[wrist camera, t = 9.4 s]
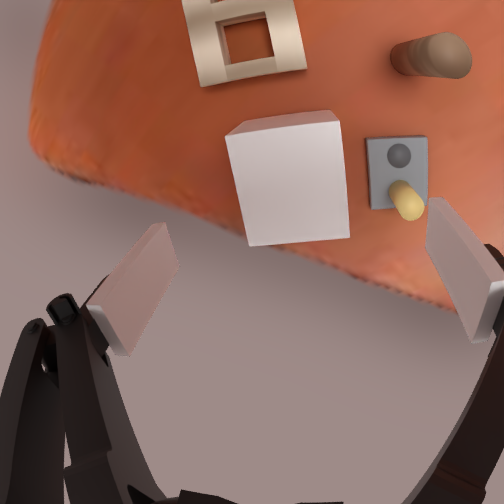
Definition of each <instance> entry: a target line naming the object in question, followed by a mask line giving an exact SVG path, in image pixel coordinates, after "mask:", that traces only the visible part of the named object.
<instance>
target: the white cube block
mask: <svg viewBox="0 0 504 504" xmlns="http://www.w3.org/2000/svg"><path fill="white" fill-rule="evenodd" d="M225 140H226V144H227V149H228V153H229V158H230V163H231V167H232V172H233V176H234V181H235V185H236V190H237V194H238V199H239V203H240V208H241V212H242V217H243V221H244V225H245V230H246V234H247V239H248V243H249V247H251V246H262V245H273V244H284V243H296V242H307V241H318V240H330V239H341V238H350V232H349V214H348V199H347V187H346V175H345V164H344V155H343V145H342V137H341V129H340V121H339V120H338V118H337V117H336V116H335V115H334V114H333V112H332V111H331V110H319V111H310V112H301V113H293V114H285V115H278V116H271V117H264V118H258V119H252V120H246V121H244V122H242V123H241V124H240V125H238V126H237V127H236V128H235V129H233V130H232V131H231V132H229V133H228V134H227V135H226V136H225Z"/></svg>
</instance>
